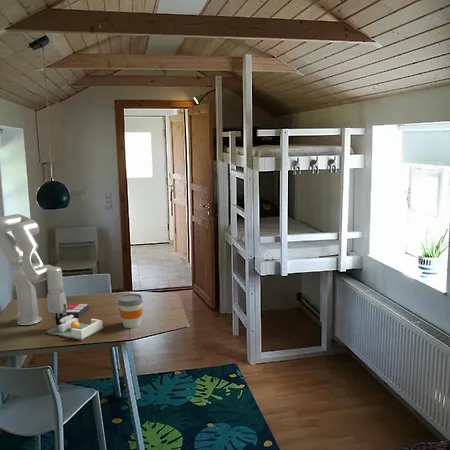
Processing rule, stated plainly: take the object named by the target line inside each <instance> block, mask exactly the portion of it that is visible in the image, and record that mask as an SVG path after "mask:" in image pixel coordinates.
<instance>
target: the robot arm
mask: <svg viewBox="0 0 450 450" xmlns="http://www.w3.org/2000/svg"><path fill="white" fill-rule="evenodd" d="M8 232H11V234H12V235H11V234H9V233H8ZM39 233H40V226H39V224H38V222H36V221H35V220H33V219H32V218H31V217H30V218H29V217H27V216H25V215H23V214H20V213H19V214H18V213H15V214H8V215H4V216H0V249H1V251H2V254H3V255H4V257H5V259H6V260H7V262H8V264H9V265H10V266H12V267H15V266H19V267H17V268H15V269H14V270H13V272H12V280H13V282H14V285H15V289H16V291H15V292H16V298H17V299H16V300H17V306H18V313H17V314H16V315H15V317H16V318H18V320H17V321H16V324H17V323H18V324H20V325H30V324H34V323H38V322H40V321H41V320H42V319H43V318H42V317H41V316H39V309H38V308H39V307H38V301H37V300H38V299H37V291H36V288H35V286H34V285H33V284H38V283H40V282H41V283H42V282H44V281H46V282H47V295H46V306H47V311H48V312H49V313H50V314H53V317H54V318H55V325H56V326H59V325H61V324H62V322H60V320H61V318H62V317H63V315H66V314H67V312H66V311H67V306H68V304H67V297H66V294H65V292H64V291H65V290H64V282H63V281H64V280H63V271H62V268H61V267H60V266H53V265H52V264H44V263H43V261H42V259H41V258H40V256H39V254H38V252H37V251H38V249H39V244H38V242H37V239H36V238H35V237H34V236H37V235H38V234H39ZM20 265H21V266H20ZM32 283H33V284H32ZM42 321H43V320H42ZM42 321H41V322H42ZM41 322H40V323H41ZM38 324H39V323H38Z"/></svg>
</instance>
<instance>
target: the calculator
mask: <svg viewBox="0 0 450 450" xmlns="http://www.w3.org/2000/svg"><path fill="white" fill-rule="evenodd" d="M89 306H90V305H89V304H88V303H70V304H69V305H67V311H66V312H67V314H66V315H63V317H66V316H69V315H73V318H77V319H80V318H81V317H82V315H84V314H85V313H86V312H88V310H89ZM63 317H62V318H63ZM73 318H72V319H73Z"/></svg>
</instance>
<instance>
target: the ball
mask: <svg viewBox="0 0 450 450" xmlns="http://www.w3.org/2000/svg"><path fill="white" fill-rule="evenodd" d="M79 323H80V322H79V321H78V322H77V321H73V322H72V323H71V329H73V328H75V329H78V328H79V326H80V324H79Z"/></svg>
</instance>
